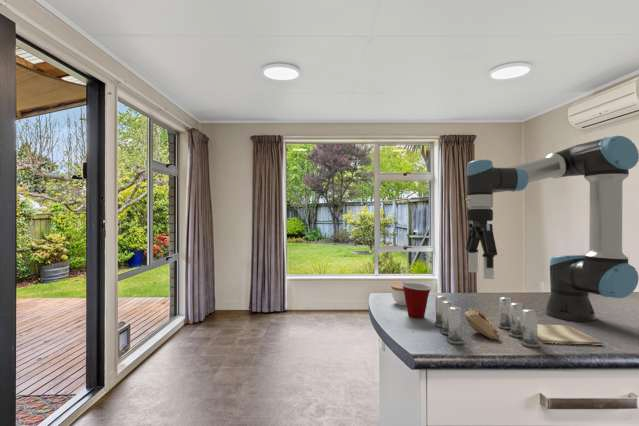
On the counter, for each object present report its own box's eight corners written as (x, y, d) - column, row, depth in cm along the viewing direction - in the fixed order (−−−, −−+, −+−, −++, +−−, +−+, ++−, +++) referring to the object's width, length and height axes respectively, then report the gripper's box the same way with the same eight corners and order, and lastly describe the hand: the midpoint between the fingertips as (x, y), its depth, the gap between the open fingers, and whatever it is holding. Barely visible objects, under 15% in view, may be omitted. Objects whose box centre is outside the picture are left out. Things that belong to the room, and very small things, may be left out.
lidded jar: (421, 306, 142) (421, 283, 142) (399, 307, 139) (399, 285, 139) (408, 300, 152) (408, 279, 153) (387, 301, 149) (387, 280, 150)
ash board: (567, 328, 112) (567, 325, 112) (602, 345, 97) (602, 342, 97) (517, 326, 114) (517, 323, 114) (543, 343, 98) (543, 340, 98)
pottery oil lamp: (484, 342, 99) (484, 318, 99) (458, 330, 110) (458, 308, 111) (509, 340, 101) (508, 316, 101) (480, 328, 113) (480, 307, 113)
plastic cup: (433, 322, 119) (433, 288, 120) (402, 320, 121) (402, 287, 122) (430, 313, 130) (429, 282, 130) (401, 312, 132) (401, 281, 132)
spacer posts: (509, 326, 115) (509, 296, 115) (542, 348, 94) (542, 312, 95) (433, 323, 117) (433, 294, 118) (449, 344, 97) (449, 309, 97)
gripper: (456, 210, 120) (456, 269, 120) (481, 206, 95) (482, 281, 95) (478, 210, 119) (478, 269, 119) (509, 206, 94) (510, 282, 94)
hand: (480, 275), depth 107 cm, fingers open, 13 cm apart
